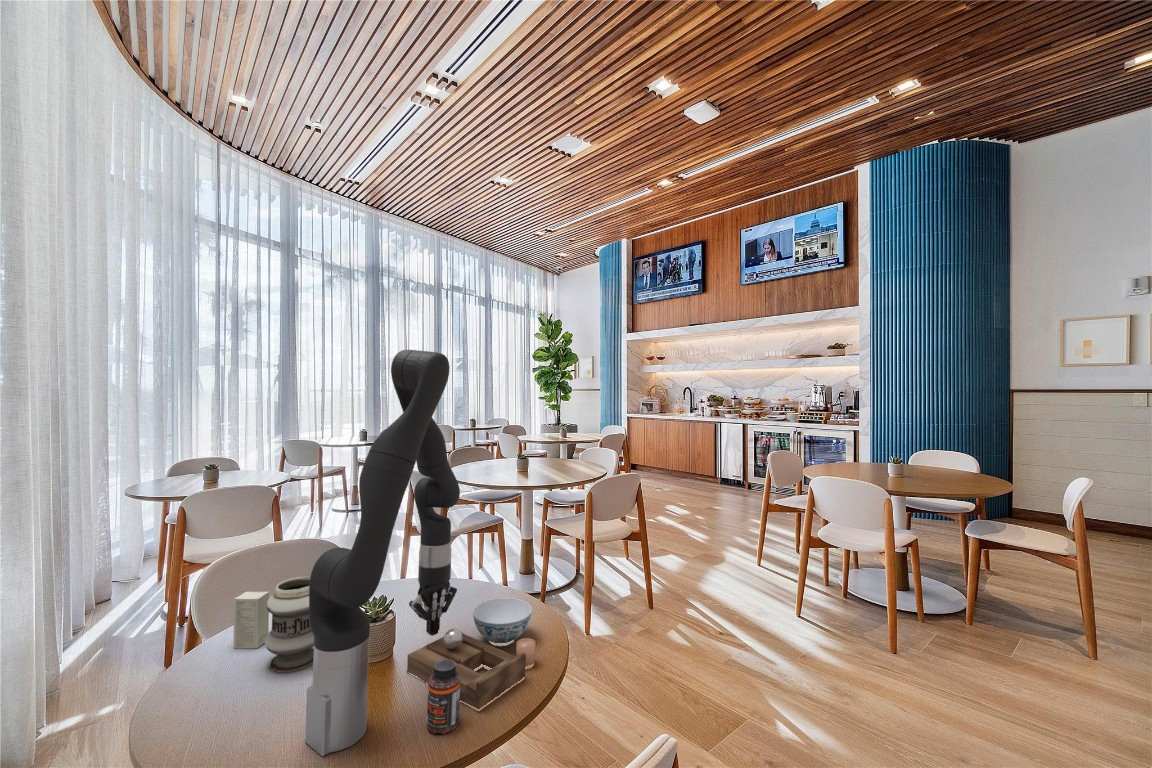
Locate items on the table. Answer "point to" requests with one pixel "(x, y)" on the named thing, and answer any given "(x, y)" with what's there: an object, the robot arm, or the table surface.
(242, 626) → the skincare box
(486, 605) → the chinaware
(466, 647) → the wooden box
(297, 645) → the apothecary jar
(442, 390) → the robot arm
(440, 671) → the supplement bottle
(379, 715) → the table surface
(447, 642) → the steel ball
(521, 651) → the beige rounded cylinder
